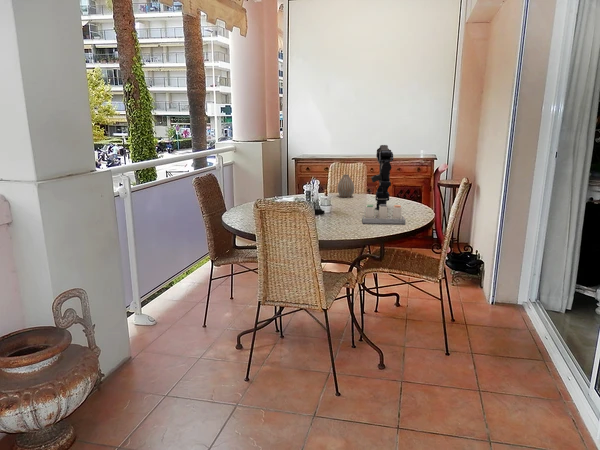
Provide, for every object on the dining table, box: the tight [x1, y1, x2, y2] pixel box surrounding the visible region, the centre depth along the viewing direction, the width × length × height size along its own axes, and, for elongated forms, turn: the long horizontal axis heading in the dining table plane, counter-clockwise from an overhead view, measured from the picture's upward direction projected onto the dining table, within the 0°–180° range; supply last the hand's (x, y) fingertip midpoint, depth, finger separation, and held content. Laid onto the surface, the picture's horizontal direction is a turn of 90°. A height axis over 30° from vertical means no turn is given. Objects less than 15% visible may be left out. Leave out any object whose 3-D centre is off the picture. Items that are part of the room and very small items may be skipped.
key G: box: [365, 204, 375, 218], centre depth 260 cm, size 4×4×9 cm
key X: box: [378, 204, 388, 218], centre depth 261 cm, size 4×4×9 cm
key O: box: [392, 204, 403, 219], centre depth 258 cm, size 4×4×9 cm
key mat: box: [361, 217, 406, 226], centre depth 260 cm, size 12×24×1 cm, turn 83°
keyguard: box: [362, 215, 407, 224], centre depth 259 cm, size 10×24×2 cm, turn 83°
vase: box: [336, 173, 355, 198], centre depth 341 cm, size 13×13×18 cm
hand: (384, 195), depth 274 cm, fingers closed
